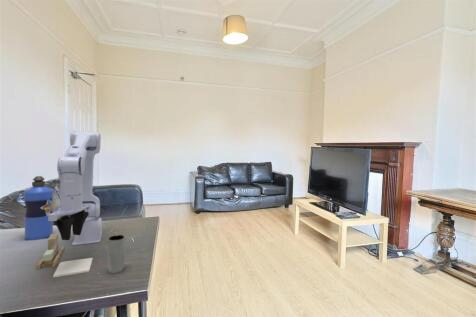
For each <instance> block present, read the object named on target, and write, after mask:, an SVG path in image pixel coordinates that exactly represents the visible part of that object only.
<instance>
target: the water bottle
mask: <svg viewBox="0 0 476 317" xmlns="http://www.w3.org/2000/svg"><path fill="white" fill-rule="evenodd" d="M31 186H32V187H30V188H29V189H27V190H25V191H23V200H24V205H25V214H24V240H26V241H36V240H37V241H39V240H42V239H47V238H49V237H50V235H51V234H54V226H53V225H54V222H53V221H48V214H51V213H53V209H52V206H53V205H52V203H53V199H54V198H53V197H54V189H52V188H49V187H46V181H45V178H44V177H43V176H42V175H37V176H35V177H34V178H33V179H32V182H31Z"/></svg>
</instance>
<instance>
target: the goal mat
mask: <svg viewBox="0 0 476 317" xmlns="http://www.w3.org/2000/svg"><path fill="white" fill-rule="evenodd" d="M93 259H94V258H93V257H88V258H81V259H80V258H79V259H73V260H66V261H60V263H59V264H58V265H57V268H56V270H55V272H54V273H53V276H52V278H60V277H67V276H73V275H79V274H85V273H89V272H90V271H91V270H90V269H91V266H92V262H93Z"/></svg>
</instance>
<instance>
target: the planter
mask: <svg viewBox="0 0 476 317" xmlns="http://www.w3.org/2000/svg"><path fill="white" fill-rule="evenodd" d="M125 239H126V238H125V235H122V234H115V235H111V236H109V237H108V238H107V248H108V249H107V250H108V251H107V255H108V256H107V261H108V262H107V270H108V271H107V272H108V273H110V274H118V273H120V272H122V271H124V269H125Z"/></svg>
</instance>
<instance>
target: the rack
mask: <svg viewBox="0 0 476 317" xmlns="http://www.w3.org/2000/svg"><path fill="white" fill-rule="evenodd" d="M65 247H66V246H64V245H63V246H61V248H60V249H59V250H58V254H57V255H56V257H55V259H54V260H53V262H52V266H51V268H55V267H56V265H57V264H58V262H59V260H60V258H61V256H63V253H64V251H65ZM42 267H43V256H42V258H41V259H40V260H39V262H38V263H37V264H36V270H40V269H41V268H42Z"/></svg>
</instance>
